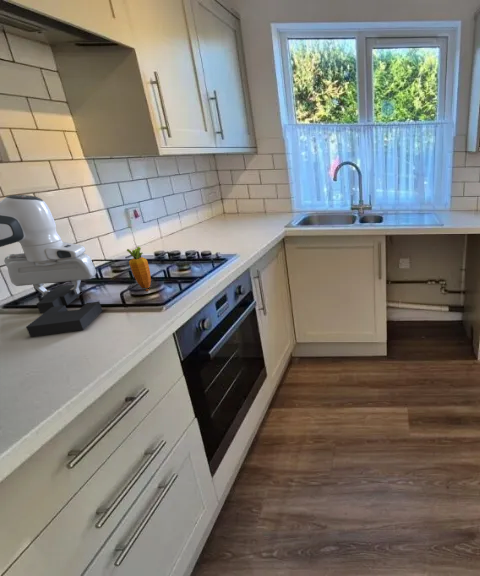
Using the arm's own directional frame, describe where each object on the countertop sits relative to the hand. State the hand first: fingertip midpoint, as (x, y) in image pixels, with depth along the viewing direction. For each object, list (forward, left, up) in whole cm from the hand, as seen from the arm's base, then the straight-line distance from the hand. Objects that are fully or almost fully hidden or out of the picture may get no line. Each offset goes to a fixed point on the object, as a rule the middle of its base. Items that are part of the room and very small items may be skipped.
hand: (62, 295), depth 111 cm
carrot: (+22, +1, -3) cm, 23 cm away
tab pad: (0, -2, -2) cm, 3 cm away
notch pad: (+8, -17, -2) cm, 19 cm away
